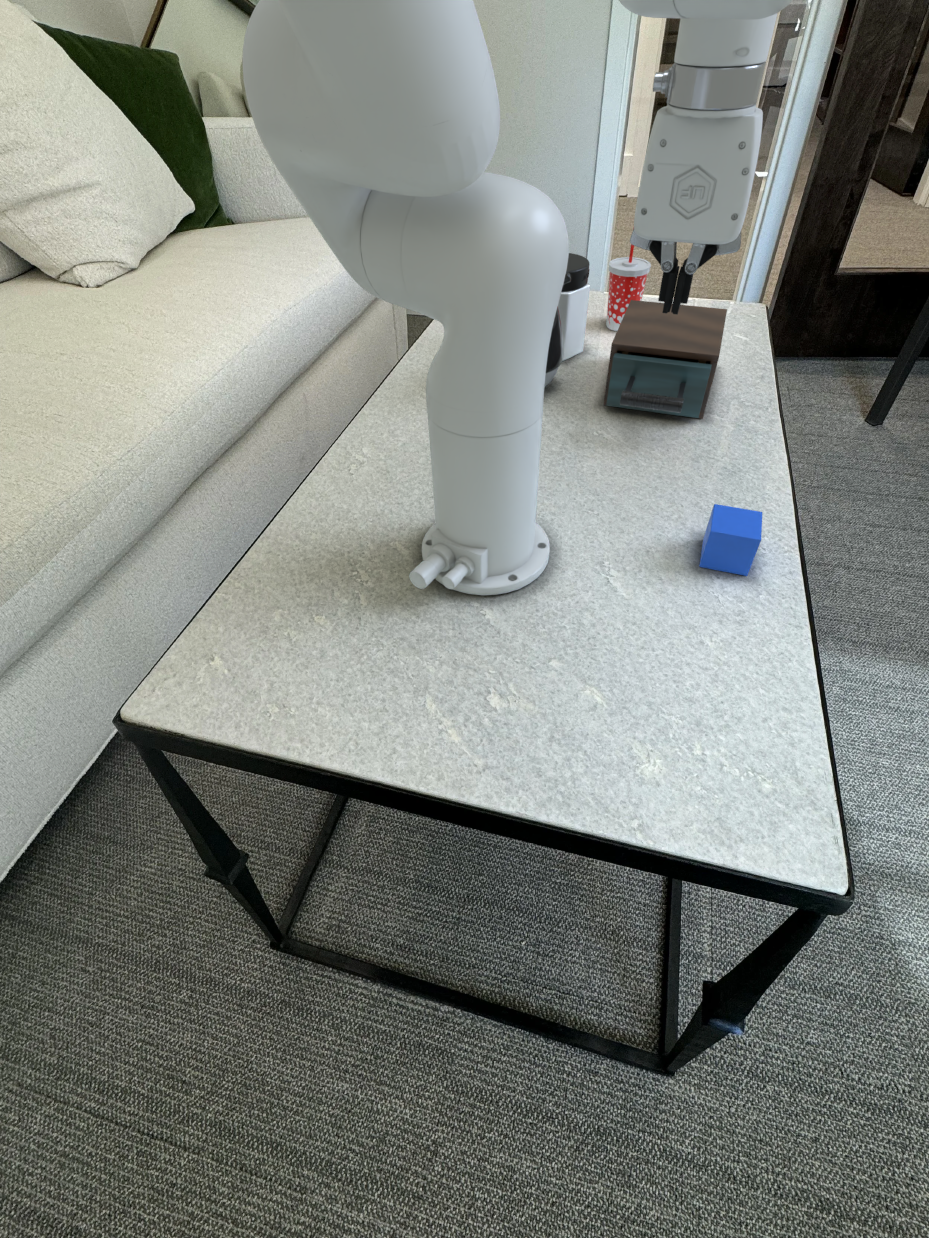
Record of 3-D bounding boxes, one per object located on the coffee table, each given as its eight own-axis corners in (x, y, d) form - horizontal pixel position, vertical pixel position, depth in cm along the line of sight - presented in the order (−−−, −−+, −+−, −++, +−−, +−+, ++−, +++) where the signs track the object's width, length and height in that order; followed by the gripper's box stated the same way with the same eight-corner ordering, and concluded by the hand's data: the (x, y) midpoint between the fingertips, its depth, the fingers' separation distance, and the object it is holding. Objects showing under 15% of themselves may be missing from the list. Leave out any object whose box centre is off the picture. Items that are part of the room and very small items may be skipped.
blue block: (747, 576, 61) (761, 540, 57) (699, 567, 62) (710, 530, 59) (749, 547, 64) (762, 511, 60) (703, 539, 65) (714, 503, 61)
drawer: (693, 443, 75) (706, 392, 71) (597, 428, 78) (603, 379, 74) (707, 370, 88) (719, 323, 84) (623, 360, 91) (630, 314, 86)
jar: (589, 358, 94) (600, 269, 85) (536, 365, 93) (541, 275, 84) (569, 334, 100) (577, 248, 91) (519, 340, 99) (522, 254, 90)
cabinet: (702, 419, 81) (719, 355, 75) (603, 405, 84) (611, 343, 78) (711, 368, 90) (727, 309, 85) (622, 358, 94) (630, 299, 88)
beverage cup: (627, 337, 98) (643, 234, 88) (593, 327, 101) (605, 226, 91) (647, 324, 102) (665, 223, 92) (614, 315, 104) (627, 216, 94)
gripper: (620, 96, 55) (595, 315, 68) (807, 98, 51) (742, 330, 65) (633, 82, 60) (608, 290, 73) (805, 84, 56) (746, 302, 70)
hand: (671, 308), depth 69 cm, fingers closed
